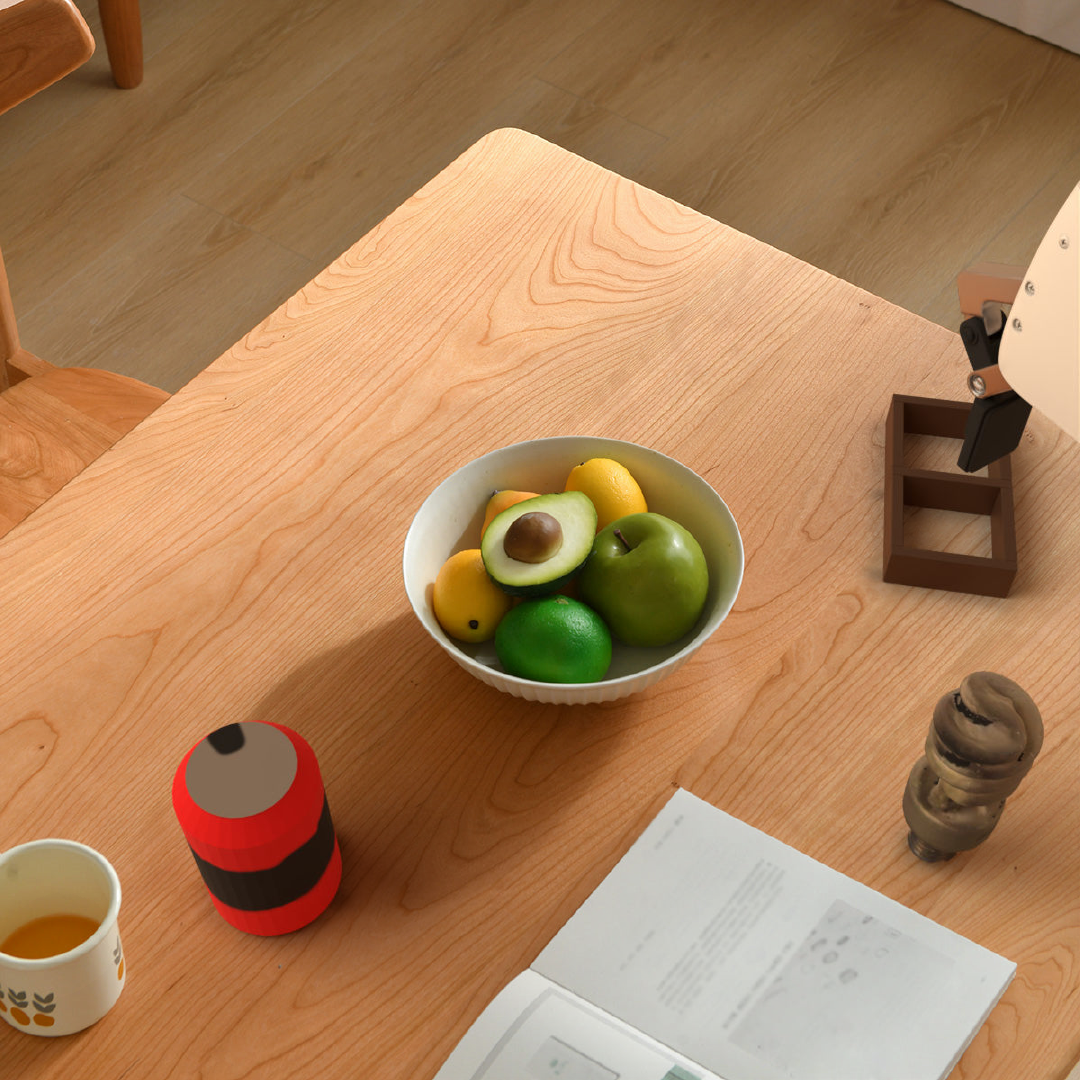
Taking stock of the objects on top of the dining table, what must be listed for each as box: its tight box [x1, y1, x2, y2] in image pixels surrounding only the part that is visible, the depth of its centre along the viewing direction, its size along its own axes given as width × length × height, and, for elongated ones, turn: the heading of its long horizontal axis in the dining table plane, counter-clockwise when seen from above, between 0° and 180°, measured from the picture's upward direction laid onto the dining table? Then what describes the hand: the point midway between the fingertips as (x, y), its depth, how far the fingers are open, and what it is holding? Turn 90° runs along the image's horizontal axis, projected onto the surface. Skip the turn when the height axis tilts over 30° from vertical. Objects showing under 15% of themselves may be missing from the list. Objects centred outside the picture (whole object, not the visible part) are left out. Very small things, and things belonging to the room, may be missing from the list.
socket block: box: [882, 393, 1019, 599], centre depth 95 cm, size 16×8×3 cm, turn 170°
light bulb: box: [901, 670, 1045, 864], centre depth 73 cm, size 6×6×15 cm
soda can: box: [171, 719, 343, 937], centre depth 73 cm, size 8×8×12 cm
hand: (1067, 526), depth 58 cm, fingers open, 9 cm apart
